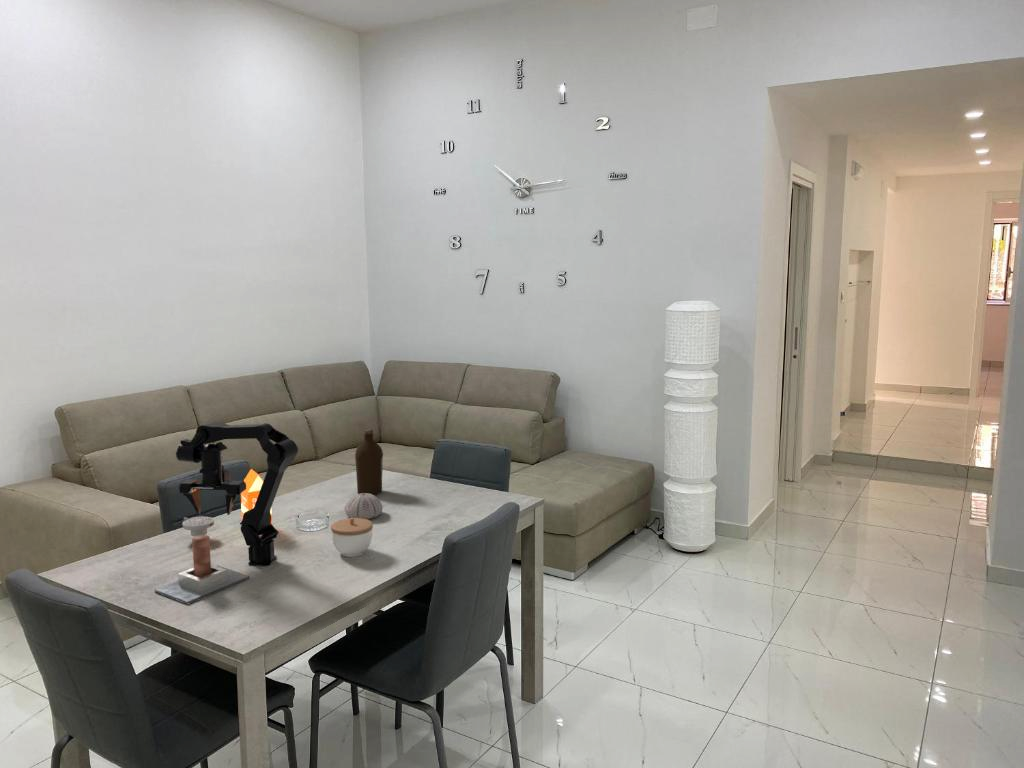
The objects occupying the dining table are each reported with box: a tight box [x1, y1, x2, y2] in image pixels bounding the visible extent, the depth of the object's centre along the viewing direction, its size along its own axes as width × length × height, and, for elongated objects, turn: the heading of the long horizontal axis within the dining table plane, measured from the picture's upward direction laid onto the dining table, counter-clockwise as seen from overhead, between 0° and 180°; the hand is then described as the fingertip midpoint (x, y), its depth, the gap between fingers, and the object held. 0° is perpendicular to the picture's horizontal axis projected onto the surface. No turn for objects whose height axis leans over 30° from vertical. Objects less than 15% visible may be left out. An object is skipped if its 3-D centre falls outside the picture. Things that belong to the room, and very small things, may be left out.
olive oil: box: [354, 428, 384, 496], centre depth 297 cm, size 11×11×25 cm
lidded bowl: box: [330, 517, 374, 558], centre depth 237 cm, size 13×13×11 cm
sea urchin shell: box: [344, 493, 383, 520], centre depth 272 cm, size 13×14×8 cm
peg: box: [191, 534, 212, 578], centre depth 212 cm, size 4×4×13 cm
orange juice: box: [240, 468, 273, 525], centre depth 256 cm, size 8×9×20 cm
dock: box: [154, 564, 251, 605], centre depth 212 cm, size 20×14×4 cm
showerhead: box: [182, 515, 215, 537], centre depth 246 cm, size 9×7×10 cm
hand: (214, 514), depth 233 cm, fingers open, 9 cm apart
